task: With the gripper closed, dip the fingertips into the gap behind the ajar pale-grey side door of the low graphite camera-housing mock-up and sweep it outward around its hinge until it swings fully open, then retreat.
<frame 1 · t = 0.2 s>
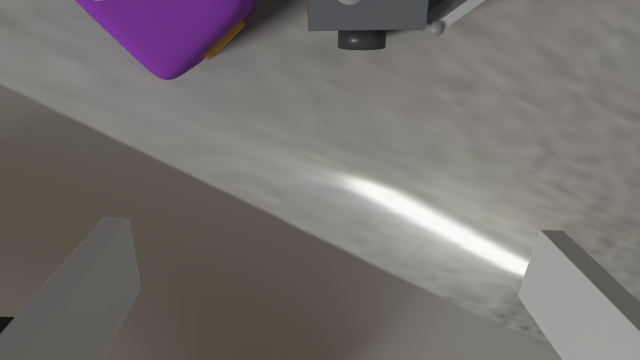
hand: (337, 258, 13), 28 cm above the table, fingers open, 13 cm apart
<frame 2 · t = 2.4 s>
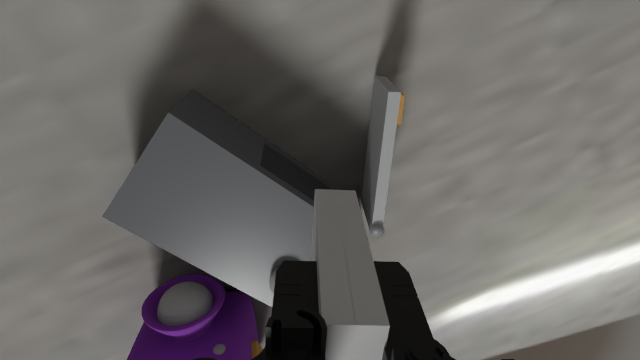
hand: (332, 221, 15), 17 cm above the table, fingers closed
housing: (249, 190, 33), on the table
toy camera: (207, 310, 39), on the table
side door: (381, 155, 29), point 3 cm above the table, hinge at 55.0°
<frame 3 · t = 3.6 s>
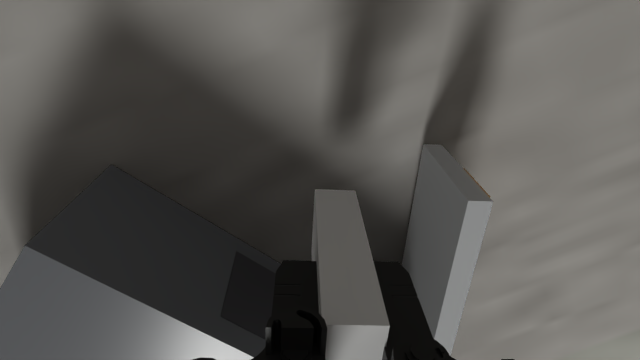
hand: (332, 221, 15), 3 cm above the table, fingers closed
housing: (215, 311, 21), on the table
side door: (434, 281, 17), point 3 cm above the table, hinge at 55.0°
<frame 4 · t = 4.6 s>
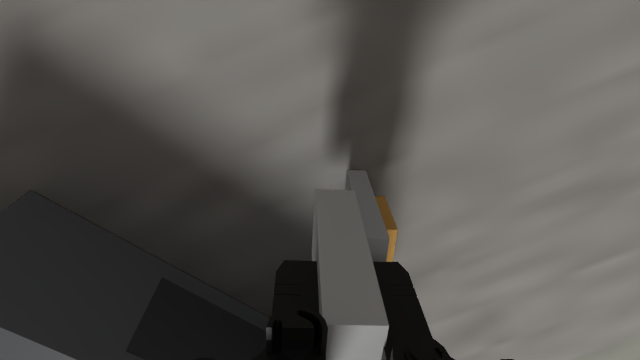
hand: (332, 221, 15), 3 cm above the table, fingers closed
housing: (151, 334, 21), on the table
side door: (357, 310, 16), point 3 cm above the table, hinge at 55.0°, touching gripper
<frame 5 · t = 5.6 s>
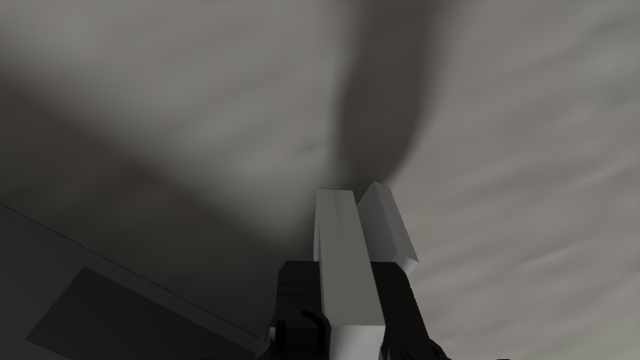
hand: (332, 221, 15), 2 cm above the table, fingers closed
housing: (84, 325, 20), on the table
side door: (327, 314, 16), point 3 cm above the table, hinge at 81.1°, touching gripper
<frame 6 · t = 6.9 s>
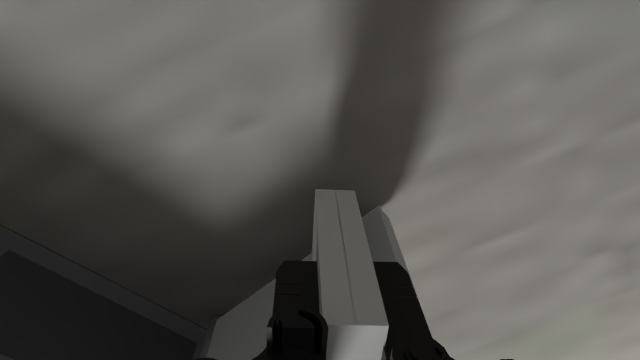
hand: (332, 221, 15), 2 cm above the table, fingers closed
housing: (19, 314, 19), on the table
side door: (292, 320, 16), point 3 cm above the table, hinge at 102.0°, touching gripper
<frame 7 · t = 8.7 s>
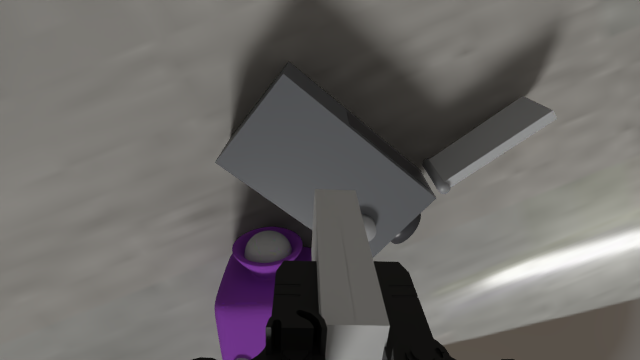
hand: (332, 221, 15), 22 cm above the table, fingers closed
housing: (326, 154, 38), on the table
toy camera: (275, 264, 44), on the table
side door: (484, 145, 34), point 3 cm above the table, hinge at 102.0°
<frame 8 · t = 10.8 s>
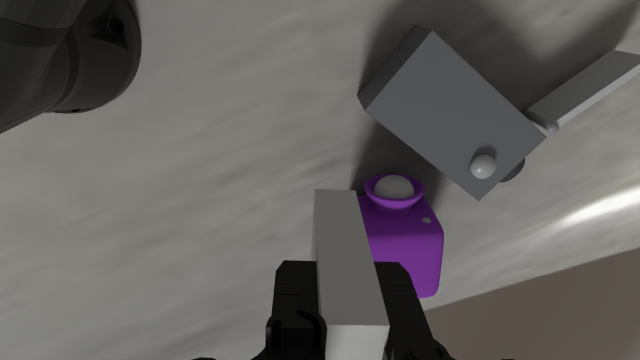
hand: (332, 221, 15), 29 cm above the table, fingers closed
housing: (438, 107, 44), on the table
toy camera: (383, 210, 49), on the table
side door: (582, 92, 40), point 3 cm above the table, hinge at 102.0°
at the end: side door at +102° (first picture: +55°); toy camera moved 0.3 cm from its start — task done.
